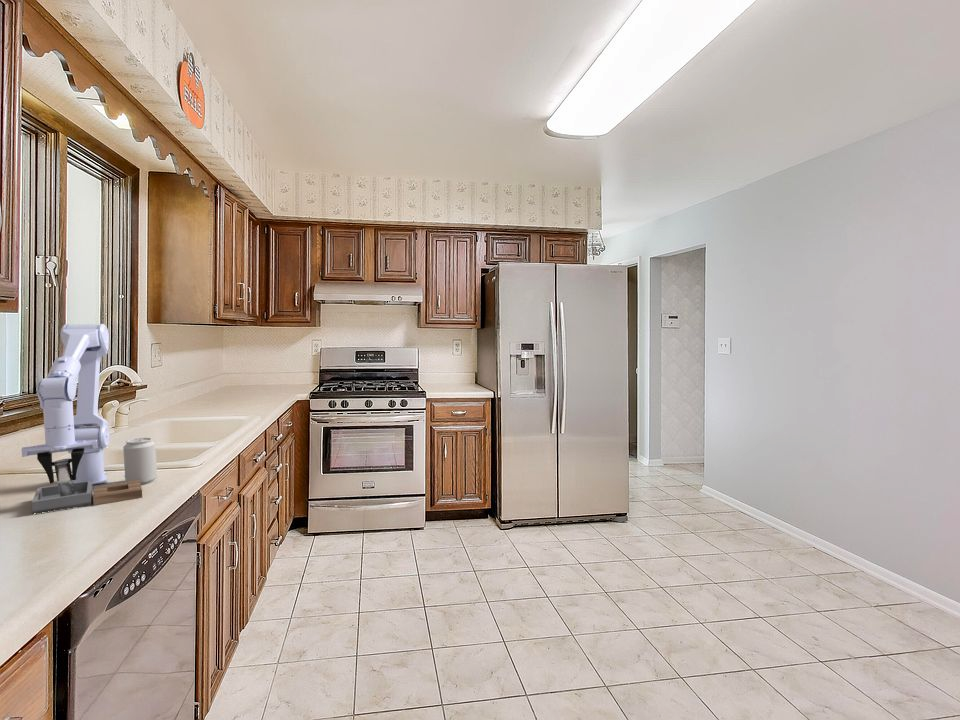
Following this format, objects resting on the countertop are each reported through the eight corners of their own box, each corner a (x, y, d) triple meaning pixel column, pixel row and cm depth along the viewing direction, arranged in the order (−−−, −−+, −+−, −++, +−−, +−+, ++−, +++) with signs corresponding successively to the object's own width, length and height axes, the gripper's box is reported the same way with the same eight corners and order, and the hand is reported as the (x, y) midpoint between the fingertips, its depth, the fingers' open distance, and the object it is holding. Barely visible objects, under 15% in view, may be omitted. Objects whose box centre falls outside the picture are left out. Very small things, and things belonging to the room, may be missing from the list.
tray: (38, 499, 135) (37, 487, 135) (92, 491, 141) (91, 480, 141) (32, 514, 124) (31, 502, 124) (91, 505, 130) (90, 493, 130)
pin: (57, 494, 133) (51, 461, 132) (77, 490, 136) (72, 457, 134) (56, 499, 130) (50, 464, 129) (77, 494, 132) (71, 460, 131)
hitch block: (94, 494, 138) (94, 486, 138) (140, 487, 144) (140, 480, 144) (93, 505, 130) (93, 497, 130) (142, 497, 136) (141, 489, 136)
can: (121, 487, 145) (118, 443, 144) (131, 479, 152) (128, 437, 151) (152, 484, 147) (150, 441, 146) (160, 476, 154) (158, 435, 153)
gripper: (18, 432, 124) (22, 490, 125) (95, 425, 132) (98, 479, 133) (22, 427, 130) (26, 483, 131) (96, 421, 138) (99, 473, 139)
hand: (63, 480), depth 132 cm, fingers closed on pin, 4 cm apart
